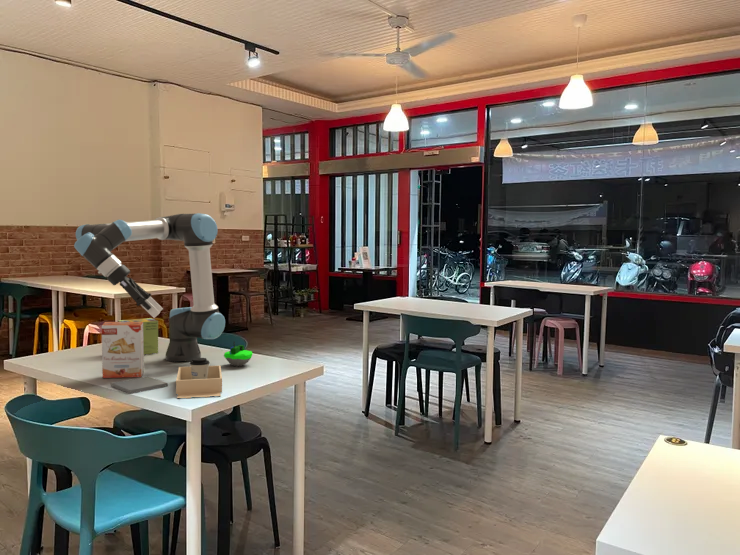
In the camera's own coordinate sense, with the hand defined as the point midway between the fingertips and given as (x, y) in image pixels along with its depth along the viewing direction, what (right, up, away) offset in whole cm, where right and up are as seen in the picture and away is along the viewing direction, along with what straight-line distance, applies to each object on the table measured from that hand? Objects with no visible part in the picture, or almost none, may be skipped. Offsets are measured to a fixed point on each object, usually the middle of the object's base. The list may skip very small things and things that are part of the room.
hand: (158, 313), depth 199 cm
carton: (+14, -27, +2) cm, 30 cm away
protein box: (-32, -23, +58) cm, 70 cm away
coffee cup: (+14, -27, +2) cm, 30 cm away
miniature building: (+20, -25, +37) cm, 49 cm away
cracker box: (-19, -25, +14) cm, 34 cm away
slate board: (-7, -26, 0) cm, 27 cm away
